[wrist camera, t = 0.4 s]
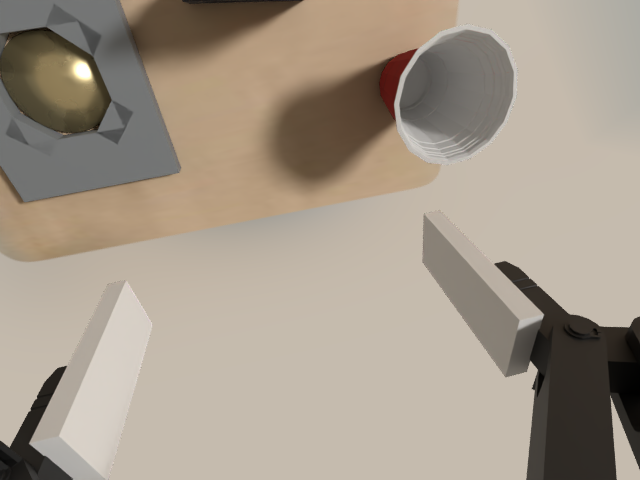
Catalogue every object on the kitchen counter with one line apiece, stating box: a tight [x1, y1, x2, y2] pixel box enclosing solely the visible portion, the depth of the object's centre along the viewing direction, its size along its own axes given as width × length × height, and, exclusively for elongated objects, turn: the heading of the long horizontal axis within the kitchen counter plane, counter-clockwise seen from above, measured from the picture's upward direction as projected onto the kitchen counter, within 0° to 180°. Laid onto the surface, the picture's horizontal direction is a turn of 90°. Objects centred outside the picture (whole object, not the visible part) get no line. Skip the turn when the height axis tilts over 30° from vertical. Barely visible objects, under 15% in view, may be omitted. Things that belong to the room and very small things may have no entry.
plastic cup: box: [379, 24, 518, 165], centre depth 34 cm, size 11×11×12 cm
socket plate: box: [0, 0, 181, 202], centre depth 33 cm, size 20×16×2 cm
